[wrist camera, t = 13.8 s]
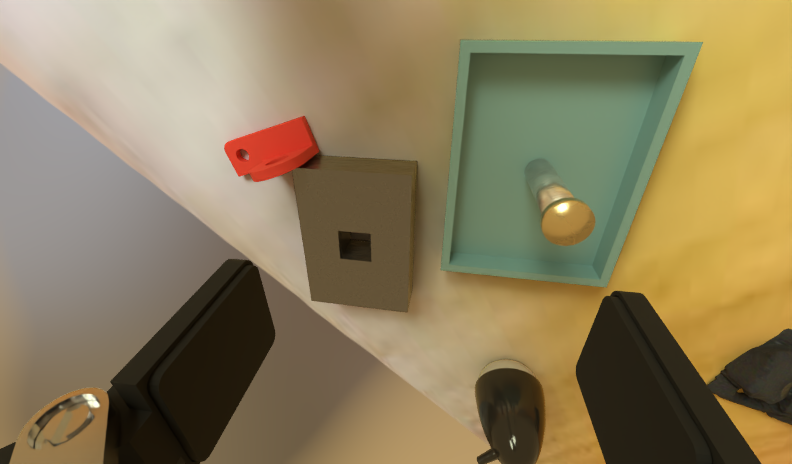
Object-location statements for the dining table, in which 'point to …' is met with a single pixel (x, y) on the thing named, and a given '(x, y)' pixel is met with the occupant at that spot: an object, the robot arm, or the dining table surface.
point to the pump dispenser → (510, 412)
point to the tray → (555, 148)
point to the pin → (558, 206)
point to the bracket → (273, 150)
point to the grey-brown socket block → (358, 229)
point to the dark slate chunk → (761, 378)
